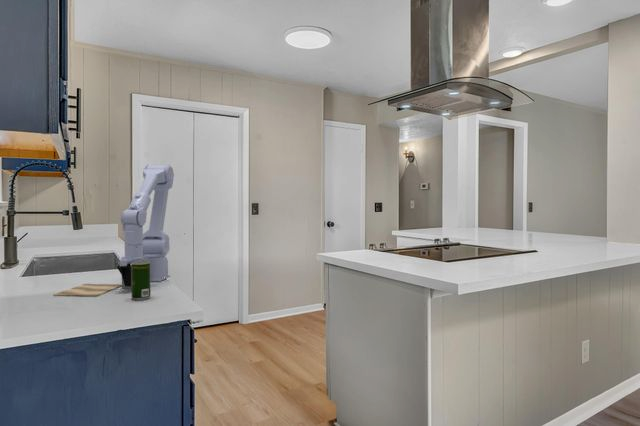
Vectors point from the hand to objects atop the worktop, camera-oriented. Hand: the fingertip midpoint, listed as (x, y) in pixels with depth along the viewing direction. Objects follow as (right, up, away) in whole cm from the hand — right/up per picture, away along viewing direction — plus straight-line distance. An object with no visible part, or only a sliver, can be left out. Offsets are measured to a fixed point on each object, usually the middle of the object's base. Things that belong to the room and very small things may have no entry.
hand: (134, 283), depth 138 cm
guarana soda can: (+8, -2, -13) cm, 16 cm away
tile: (0, -2, 0) cm, 2 cm away
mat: (-13, -2, -3) cm, 14 cm away
